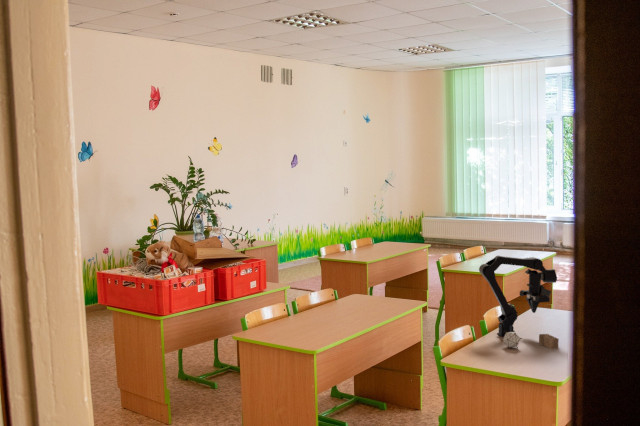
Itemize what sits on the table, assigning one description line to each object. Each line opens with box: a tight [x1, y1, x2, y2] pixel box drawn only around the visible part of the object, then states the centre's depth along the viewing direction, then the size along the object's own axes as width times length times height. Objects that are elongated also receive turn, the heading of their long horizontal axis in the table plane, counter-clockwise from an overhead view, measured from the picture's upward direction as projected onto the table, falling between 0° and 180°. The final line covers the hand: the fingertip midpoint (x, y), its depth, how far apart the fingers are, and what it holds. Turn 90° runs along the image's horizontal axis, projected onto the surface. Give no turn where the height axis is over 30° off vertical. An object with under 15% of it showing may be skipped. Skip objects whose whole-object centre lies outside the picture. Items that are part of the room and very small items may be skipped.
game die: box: [500, 330, 523, 350], centre depth 279 cm, size 9×8×10 cm
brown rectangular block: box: [538, 333, 559, 349], centre depth 283 cm, size 4×4×9 cm
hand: (533, 312), depth 301 cm, fingers closed
